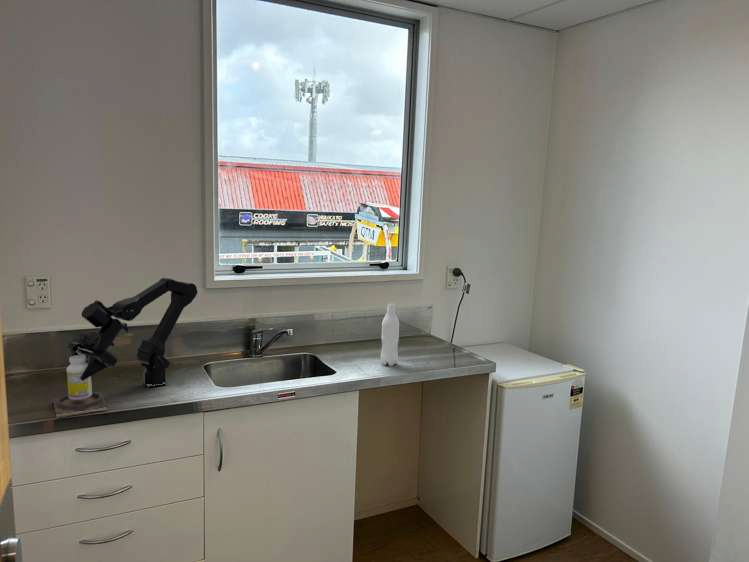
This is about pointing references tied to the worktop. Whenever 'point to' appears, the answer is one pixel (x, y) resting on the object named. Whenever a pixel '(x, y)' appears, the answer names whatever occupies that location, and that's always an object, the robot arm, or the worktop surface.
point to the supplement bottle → (78, 379)
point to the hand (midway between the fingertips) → (74, 377)
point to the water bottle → (390, 336)
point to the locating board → (79, 403)
